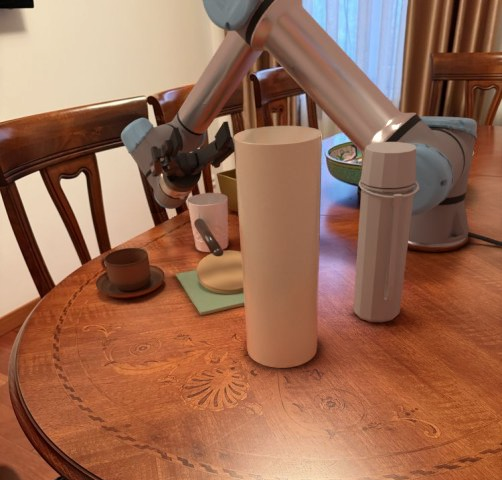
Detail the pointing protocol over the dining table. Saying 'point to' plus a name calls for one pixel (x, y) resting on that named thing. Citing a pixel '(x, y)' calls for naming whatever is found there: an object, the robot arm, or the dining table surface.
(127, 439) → the dining table surface
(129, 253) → the cup and saucer
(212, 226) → the white cup
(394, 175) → the water bottle
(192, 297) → the mat
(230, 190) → the flower pot
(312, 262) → the canister
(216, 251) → the lid
